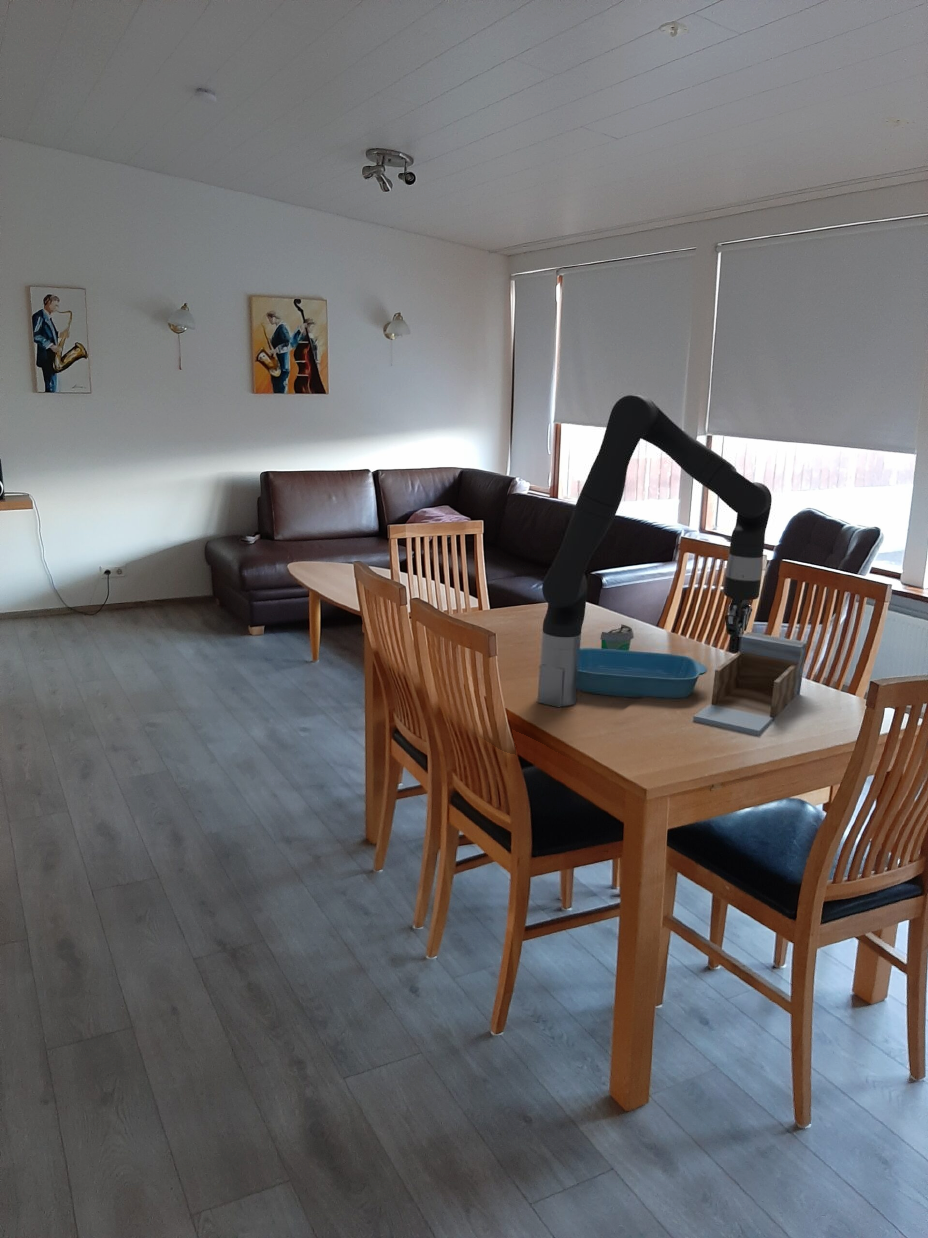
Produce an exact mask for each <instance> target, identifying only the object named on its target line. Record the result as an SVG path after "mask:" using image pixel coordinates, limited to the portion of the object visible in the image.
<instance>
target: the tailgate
mask: <svg viewBox="0 0 928 1238" xmlns="http://www.w3.org/2000/svg"><path fill="white" fill-rule="evenodd" d="M692 718H693V722H697V723H701V724H706V725H711V726H715V727H719V728H723V729H728V730H733V731H736V732H742V733H746V734H750V735H753V736H758V737H759V735H761V734H762V733H763V731H764V730H766V728H767V727H768V726H769V725H770V724H771V723H772V722H775V720H776V717H775V718H771V717H767V716H762V715H757V714H753V713H748V712H744V711H739V710H734V709H730V708H725V707H720V706H716V705H711V703H710V704H707V706H705V707H704V708H703V709H700V711H698V712H696V714H695V715H693V716H692Z"/></svg>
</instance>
